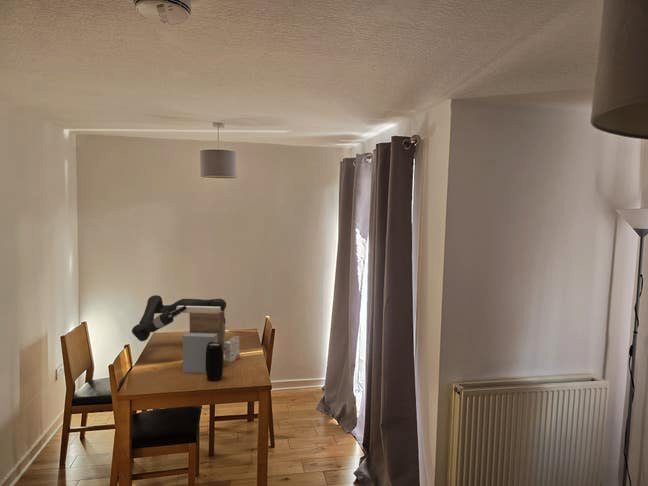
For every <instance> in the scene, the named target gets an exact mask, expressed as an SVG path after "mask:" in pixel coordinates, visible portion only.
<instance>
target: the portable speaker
mask: <svg viewBox="0 0 648 486" xmlns="http://www.w3.org/2000/svg"><path fill="white" fill-rule="evenodd" d="M223 371H224V363H223V350H222V343H221V342H209V343H208V344H207V348H206V373H205V374H206V378H207V380H208V381H210V380H213V381H214V382H216V381H220V380H221V379H222V377H223Z"/></svg>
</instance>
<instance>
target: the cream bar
mask: <svg viewBox="0 0 648 486" xmlns="http://www.w3.org/2000/svg"><path fill="white" fill-rule="evenodd" d="M182 307H183V306H177V307H176V310H178V309H180V308H182ZM186 308H187V309H186V310H184V311H182V313H183V312H203V313H220V312H221V307H213V306H186Z"/></svg>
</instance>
